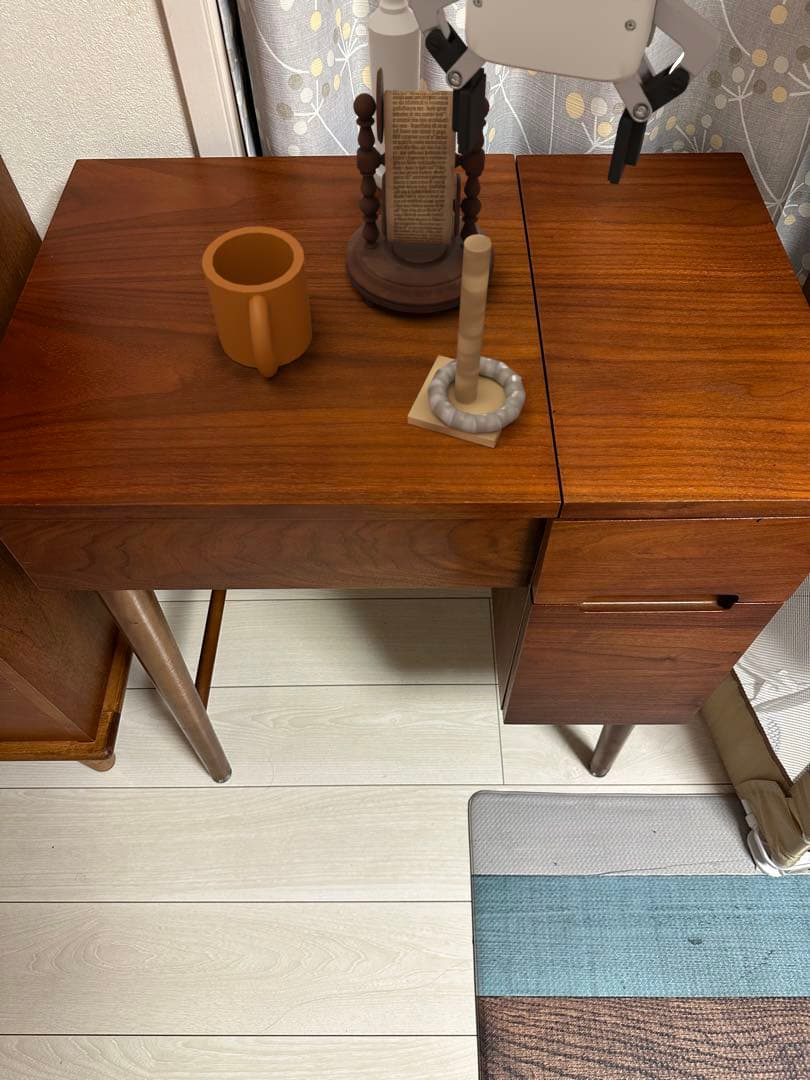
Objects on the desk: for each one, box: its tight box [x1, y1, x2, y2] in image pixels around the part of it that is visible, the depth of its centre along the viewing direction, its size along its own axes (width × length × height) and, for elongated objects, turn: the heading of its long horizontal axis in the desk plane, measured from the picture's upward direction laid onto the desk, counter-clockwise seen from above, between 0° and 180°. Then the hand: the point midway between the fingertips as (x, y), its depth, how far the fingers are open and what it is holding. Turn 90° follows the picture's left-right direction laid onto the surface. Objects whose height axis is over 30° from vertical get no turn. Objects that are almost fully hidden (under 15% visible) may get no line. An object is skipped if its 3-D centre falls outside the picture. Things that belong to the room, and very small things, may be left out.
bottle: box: [366, 0, 422, 191], centre depth 80 cm, size 5×5×25 cm
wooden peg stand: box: [407, 235, 522, 449], centre depth 66 cm, size 8×8×17 cm
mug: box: [201, 225, 313, 378], centre depth 73 cm, size 9×12×9 cm
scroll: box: [344, 67, 495, 314], centre depth 74 cm, size 15×15×20 cm
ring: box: [427, 355, 527, 434], centre depth 71 cm, size 8×8×2 cm
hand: (542, 157), depth 51 cm, fingers open, 9 cm apart
